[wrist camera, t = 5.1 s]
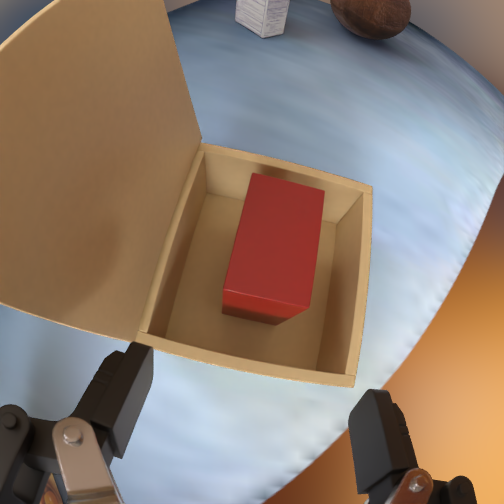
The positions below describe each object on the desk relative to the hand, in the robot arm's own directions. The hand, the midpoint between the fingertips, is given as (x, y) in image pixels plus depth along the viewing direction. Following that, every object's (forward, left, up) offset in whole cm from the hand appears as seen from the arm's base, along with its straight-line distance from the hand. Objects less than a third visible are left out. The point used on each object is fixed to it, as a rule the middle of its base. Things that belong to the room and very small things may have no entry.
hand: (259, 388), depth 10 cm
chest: (0, +8, -13) cm, 15 cm away
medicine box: (-8, +49, -13) cm, 51 cm away
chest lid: (-8, +8, +1) cm, 11 cm away
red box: (0, +8, -12) cm, 15 cm away
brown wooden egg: (+10, +59, -13) cm, 61 cm away
